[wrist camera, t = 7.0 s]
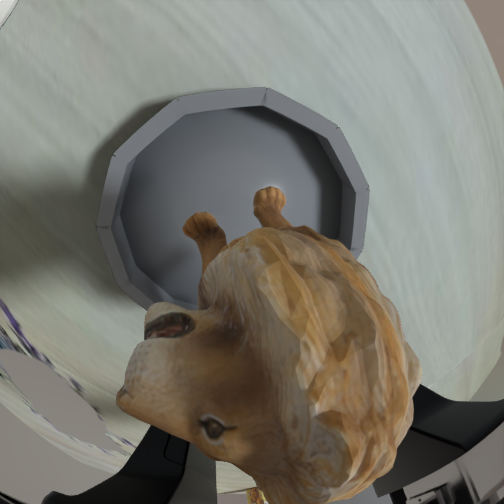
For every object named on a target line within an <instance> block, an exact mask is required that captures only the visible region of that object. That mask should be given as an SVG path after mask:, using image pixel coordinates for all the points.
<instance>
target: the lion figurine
mask: <svg viewBox="0 0 504 504" xmlns="http://www.w3.org/2000/svg"><path fill="white" fill-rule="evenodd" d="M285 204H286V198H285V196H284V194H283V193H282V192H281V190H280V189H279V188H276V187H273V186H268V187H265V188H262V189H260V190H258V191H257V192H256V193H255V195H254V199H253V208H254V210H253V213H254V216H255V217H256V218H257V219H258V220H259V222H260V224H261V226H262V228H257V229H255V230H253V231H251V232H249V233H247V235H246V236H242V237H239V238H237V239H234V240H233V241H231V242H230V243H229V244H227V241H226V235H225V232H224V230H223V229H222V228H221V227H220V226H218V223H217V221H216V219H215V217H214V216H213V215H212V214H210V213H209V212H196V213H195V214H193V215H192V216H191V217H189V218H188V219H187V220H186V222H185V225H184V226H183V232H184V234H185V235H186V236H188V237H190V238H191V239H193V240H194V241H195V242H196V243H197V245H198V248H199V250H200V254H201V258H202V276H201V278H200V282H199V286H198V302H197V306H198V310H187V309H185V308H182V307H180V306H177V305H175V304H171V303H168V302H158V303H155V304H152V305H151V306H150V307H149V309H148V311H147V314H146V316H145V325H144V339H145V341H143V342H141V343H139V344H138V345H137V346H136V348H135V349H134V351H133V354H132V356H131V358H130V360H129V363H128V366H127V369H126V373H125V382H124V385H123V387H122V388H121V389H120V390H119V392H118V393H117V397H116V404H117V405H118V406H119V408H120V409H121V410H122V411H124V412H125V413H127V414H129V415H131V416H133V417H135V418H136V419H138V420H141V421H143V422H145V423H148V424H150V425H153V426H155V427H157V428H159V429H161V430H164V431H166V432H168V433H170V434H172V435H174V436H177V437H179V438H182V439H184V440H186V441H188V442H190V443H192V444H194V445H195V446H196V447H197V448H198V449H199V450H200V451H202V453H203V454H204V455H205V456H206V457H208V458H210V459H212V460H216V461H224V462H229V463H231V464H233V465H235V466H236V467H238V468H239V469H241V470H242V471H244V472H245V473H247V474H248V475H250V476H251V477H253V479H254V480H255V482H256V485H257V489H259V490H261V491H262V492H263V495H264V497H265V499H266V501H267V502H268V504H326V503H329V502H332V501H336V500H344V499H350V498H351V497H353V496H354V495H355V494H357V493H359V492H361V491H362V490H364V489H366V488H367V487H368V486H370V485H371V484H372V483H373V482H374V481H375V480H376V478H379V477H381V476H383V475H385V474H386V473H388V472H389V471H390V469H391V468H392V467H393V464H394V461H395V458H396V454H397V447H398V446H399V445H400V443H401V442H402V440H403V439H404V437H405V436H406V433H407V431H408V429H409V428H410V426H411V424H412V421H413V413H414V407H413V399H412V397H413V395H414V394H415V392H416V390H417V388H418V386H419V384H420V382H421V379H422V366H421V364H420V361H419V359H418V357H417V356H416V354H415V353H414V351H413V350H412V349H411V347H410V346H409V345H408V343H407V342H406V340H405V336H404V332H403V328H402V325H401V320H400V317H399V314H398V311H397V309H396V308H395V306H394V304H393V303H392V302H391V301H390V300H389V299H388V298H387V297H385V296H384V295H383V294H382V293H381V291H380V290H379V287H378V285H377V283H376V281H375V279H374V278H373V276H372V275H371V273H370V272H369V270H367V269H366V268H365V267H364V266H363V265H362V264H360V263H359V262H358V261H357V260H356V259H355V258H354V256H353V255H352V254H351V252H350V251H349V250H348V249H347V248H346V247H345V246H344V245H343V244H342V243H341V242H339V241H337V240H334V239H328V238H327V237H325V236H323V235H321V234H319V233H317V232H316V231H315V230H313V229H312V228H310V227H309V226H306V225H302V226H298V227H293V226H292V225H291V224H290V223H289V222H288V221H287V220H286V219H285V218H284V217H283V216H282V215H281V210H282V208H283V207H284V206H285Z"/></svg>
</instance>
